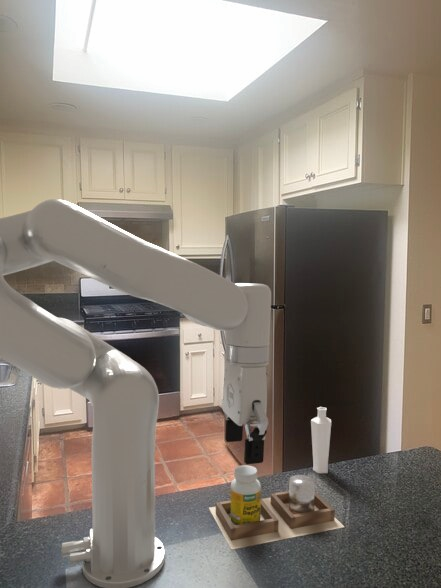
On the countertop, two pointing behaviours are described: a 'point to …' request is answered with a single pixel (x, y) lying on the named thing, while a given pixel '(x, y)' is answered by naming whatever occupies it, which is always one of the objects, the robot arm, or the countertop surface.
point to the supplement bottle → (245, 496)
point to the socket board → (275, 521)
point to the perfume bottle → (320, 440)
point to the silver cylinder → (301, 494)
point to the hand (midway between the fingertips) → (243, 451)
